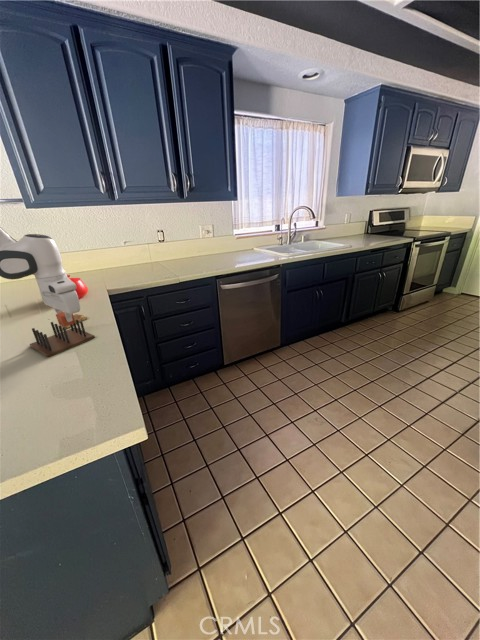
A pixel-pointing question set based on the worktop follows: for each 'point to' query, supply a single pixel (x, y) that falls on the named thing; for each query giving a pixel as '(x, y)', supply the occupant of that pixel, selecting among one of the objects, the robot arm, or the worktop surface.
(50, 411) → the worktop surface
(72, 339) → the dish rack
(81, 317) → the shard
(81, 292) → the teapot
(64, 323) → the block
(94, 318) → the worktop surface
